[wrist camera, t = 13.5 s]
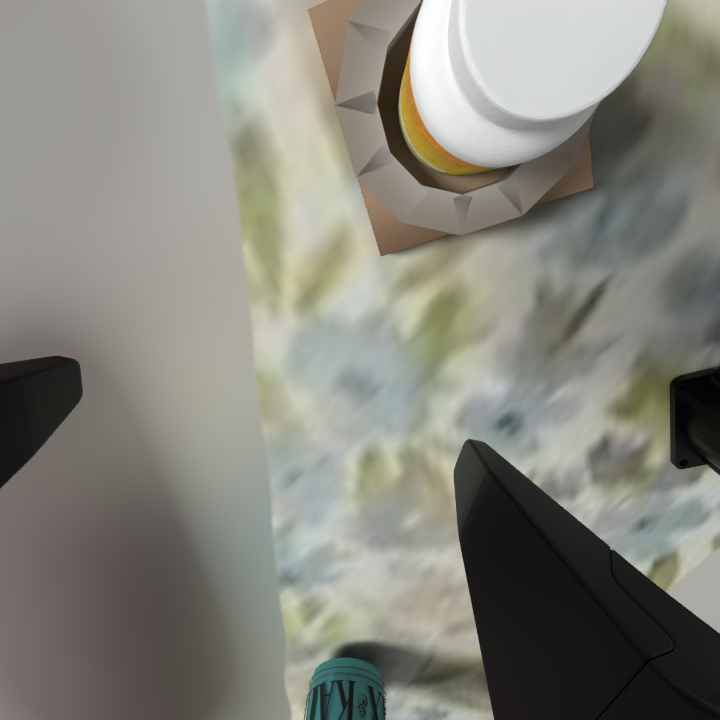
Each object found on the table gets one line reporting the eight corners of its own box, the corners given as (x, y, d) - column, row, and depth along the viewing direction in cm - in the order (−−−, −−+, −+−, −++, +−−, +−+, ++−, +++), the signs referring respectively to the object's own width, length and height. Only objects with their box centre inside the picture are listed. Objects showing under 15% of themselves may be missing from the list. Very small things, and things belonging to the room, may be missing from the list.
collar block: (580, 187, 18) (612, 186, 16) (380, 253, 20) (381, 261, 17) (555, -86, 15) (592, -143, 12) (312, 21, 16) (300, -10, 14)
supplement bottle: (450, 203, 18) (524, 214, 9) (371, 103, 16) (365, -4, 7) (552, 108, 16) (770, 3, 7) (475, -12, 15) (628, -329, 6)
